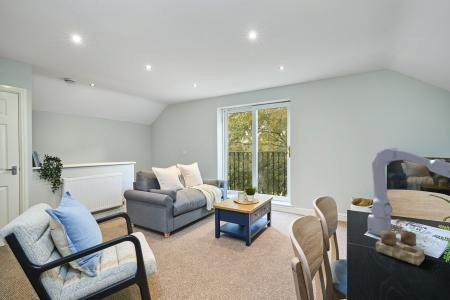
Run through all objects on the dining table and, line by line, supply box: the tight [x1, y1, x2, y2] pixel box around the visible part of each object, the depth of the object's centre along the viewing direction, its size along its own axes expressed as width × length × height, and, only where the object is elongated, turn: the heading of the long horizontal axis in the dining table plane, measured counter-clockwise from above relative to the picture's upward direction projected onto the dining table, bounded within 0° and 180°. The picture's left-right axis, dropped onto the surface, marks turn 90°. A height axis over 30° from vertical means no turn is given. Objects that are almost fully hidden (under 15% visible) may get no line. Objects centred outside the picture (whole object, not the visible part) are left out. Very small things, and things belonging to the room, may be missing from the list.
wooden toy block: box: [375, 230, 425, 266], centre depth 86 cm, size 14×8×8 cm, turn 33°
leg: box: [400, 230, 417, 247], centre depth 90 cm, size 5×5×8 cm
